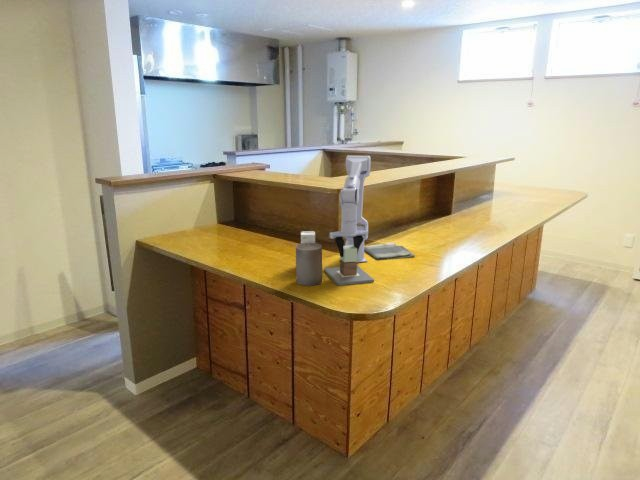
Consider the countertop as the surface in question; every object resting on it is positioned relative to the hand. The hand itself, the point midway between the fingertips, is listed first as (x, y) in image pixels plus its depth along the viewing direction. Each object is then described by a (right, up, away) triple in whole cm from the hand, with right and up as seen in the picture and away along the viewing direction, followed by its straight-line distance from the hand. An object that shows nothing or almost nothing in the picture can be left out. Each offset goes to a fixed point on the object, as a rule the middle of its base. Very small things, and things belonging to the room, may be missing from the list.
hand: (348, 255), depth 171 cm
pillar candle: (-15, -10, -4) cm, 18 cm away
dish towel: (+20, -1, +33) cm, 39 cm away
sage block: (0, -2, 0) cm, 2 cm away
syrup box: (-16, -5, +13) cm, 21 cm away
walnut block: (0, -7, +2) cm, 7 cm away
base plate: (0, -8, +2) cm, 8 cm away
